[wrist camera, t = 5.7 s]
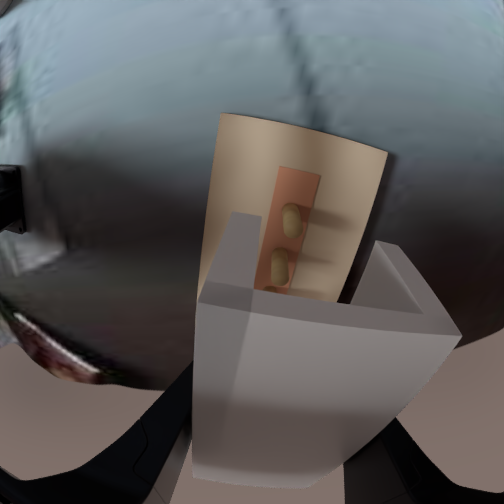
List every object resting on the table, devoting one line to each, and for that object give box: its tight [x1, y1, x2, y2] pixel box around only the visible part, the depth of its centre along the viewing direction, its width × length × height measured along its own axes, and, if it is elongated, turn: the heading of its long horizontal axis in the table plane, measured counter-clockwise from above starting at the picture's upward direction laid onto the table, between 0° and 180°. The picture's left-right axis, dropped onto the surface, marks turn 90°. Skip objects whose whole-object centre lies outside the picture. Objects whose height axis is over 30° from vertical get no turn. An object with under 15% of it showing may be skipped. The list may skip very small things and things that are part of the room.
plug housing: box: [192, 211, 462, 488], centre depth 8 cm, size 5×10×4 cm, turn 170°
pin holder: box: [195, 113, 388, 326], centre depth 17 cm, size 10×16×4 cm, turn 170°
